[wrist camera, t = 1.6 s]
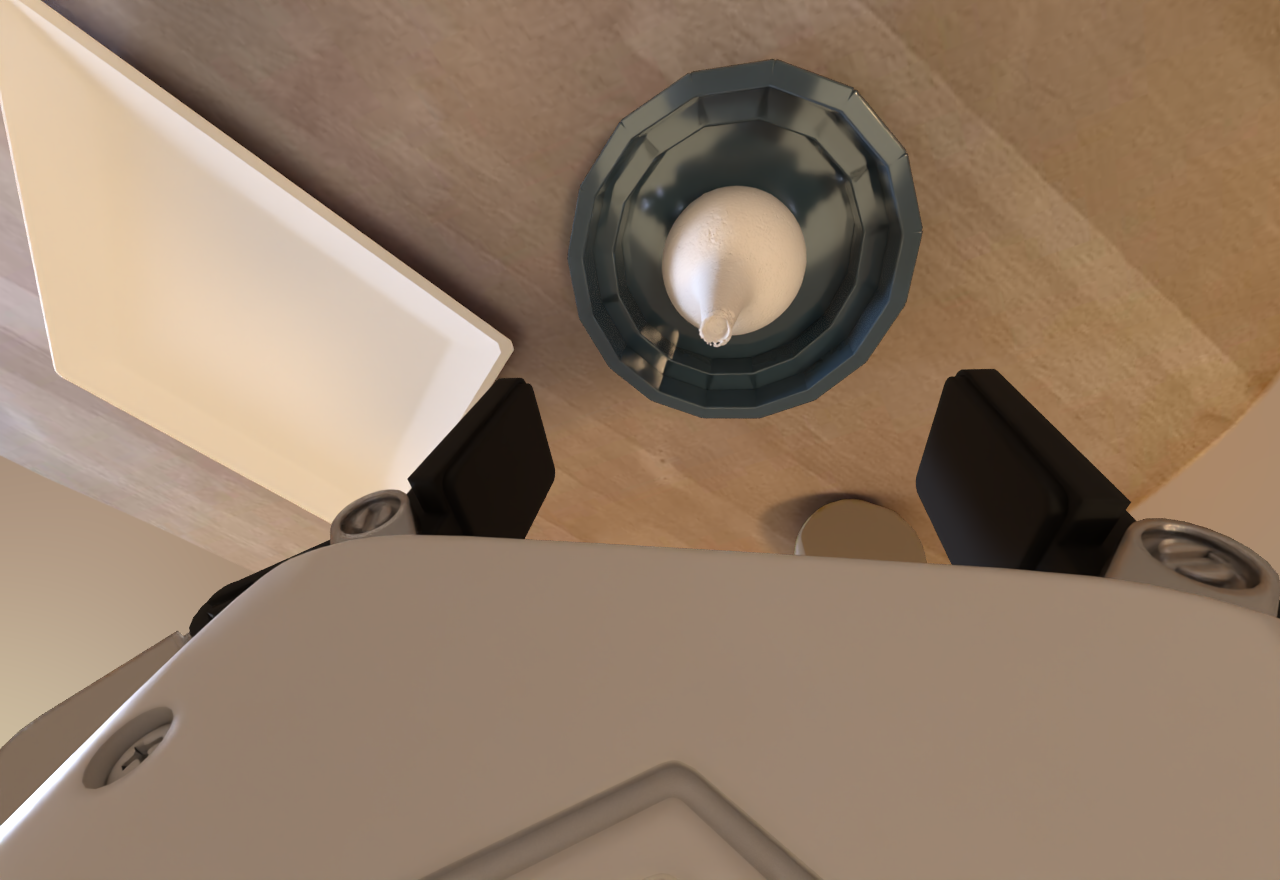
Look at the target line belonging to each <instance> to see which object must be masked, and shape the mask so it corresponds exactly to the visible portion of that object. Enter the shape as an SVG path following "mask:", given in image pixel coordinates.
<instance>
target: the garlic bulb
mask: <svg viewBox="0 0 1280 880" xmlns="http://www.w3.org/2000/svg"><path fill="white" fill-rule="evenodd" d="M806 262H807V261H806V245H805V241H804V237H803V233H802V231H801V228H800V226H799V224H798V222H797V220H796V218H795V217H794V215H793V214H792V213H791V212H790V210H789V209H788V208H787V207H786V206H785V205H784V204H783V203H782V202H781V201H780V200H778V199H777V198H776V197H774V196H773V195H772V194H769V193H767V192H765V191H762V190H760V189H757V188H752V187H747V186H727V187H722V188H717V189H715V190H712V191H709V192H707V193H704V194H703V195H702V196H701V197H699V198H697V199H696V200H694V201H693V202H691V203H690V204H689V205H688V206H687V207H686V209H685V210H684V211H683V212H682V213H681V214H680V215H679V216H678V218H677V219H676V221H675V222H674V224H673V226H672V228H671V230H670V232H669V234H668V236H667V239H666V242H665V246H664V250H663V257H662V274H663V281H664V285H665V288H666V291H667V294H668V296H669V298H670V300H671V302H672V304H673V305H674V307H675V308H676V310H677V311H678V312H679V314H680V315H681V316H682V317H683V318H684V319H686V320H687V321H688V322H689V323H691V324H692V325H694V326H695V327H697V328H699V331H700V333H699V335H700V336H701V339H702V338H703V339H704V341H705V342H707V344H708V343H710V346H711V345H712V344H711V342H713V343H714V347H719V346H721V345H725V344H727V342H729V340H730V339H731V336H732V335H741V334H746V333H750V332H753V331H756V330H758V329H760V328H762V327H764V326H766V325H768V324H770V323H771V322H773V321H774V320H775V319H776V318H778V317H779V316H780V315H781V314H782V313H783V312H784V311H785V310H786V309H787V308H788V307H789V305H790V304H791V303H792V301H793V300H794V298H795V297H796V295H797V293H798V291H799V289H800V287H801V284H802V281H803V277H804V273H805V267H806ZM717 342H720V343H719V344H716V343H717Z"/></svg>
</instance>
